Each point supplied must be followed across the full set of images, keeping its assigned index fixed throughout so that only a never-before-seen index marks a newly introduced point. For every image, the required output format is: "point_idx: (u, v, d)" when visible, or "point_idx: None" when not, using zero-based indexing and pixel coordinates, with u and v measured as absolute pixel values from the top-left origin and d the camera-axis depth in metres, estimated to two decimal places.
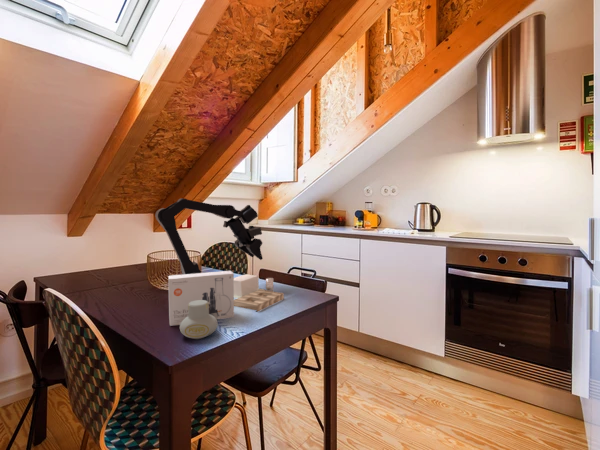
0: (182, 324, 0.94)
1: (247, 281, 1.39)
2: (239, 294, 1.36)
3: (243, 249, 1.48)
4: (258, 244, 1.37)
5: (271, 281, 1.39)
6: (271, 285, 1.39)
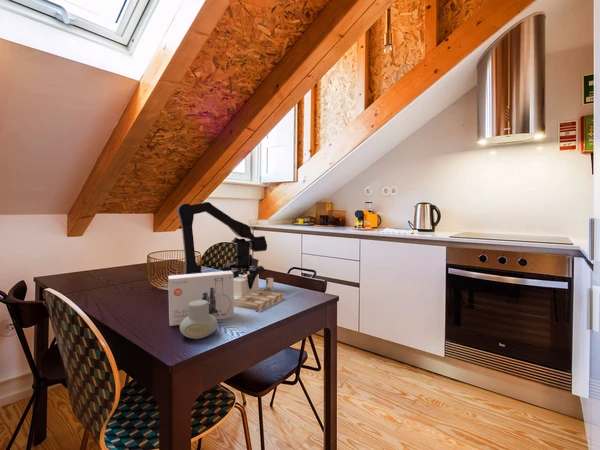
0: (182, 324, 0.94)
1: (247, 281, 1.39)
2: (239, 294, 1.36)
3: None
4: (262, 271, 1.38)
5: (271, 281, 1.39)
6: (271, 285, 1.39)
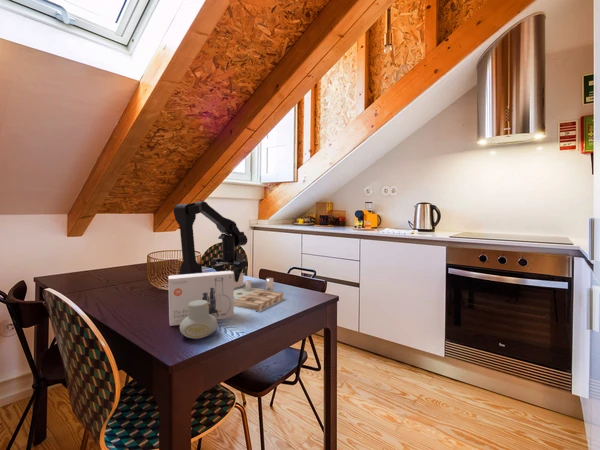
0: (182, 324, 0.94)
1: None
2: None
3: (218, 268, 1.52)
4: (245, 265, 1.47)
5: (271, 281, 1.39)
6: (271, 285, 1.39)
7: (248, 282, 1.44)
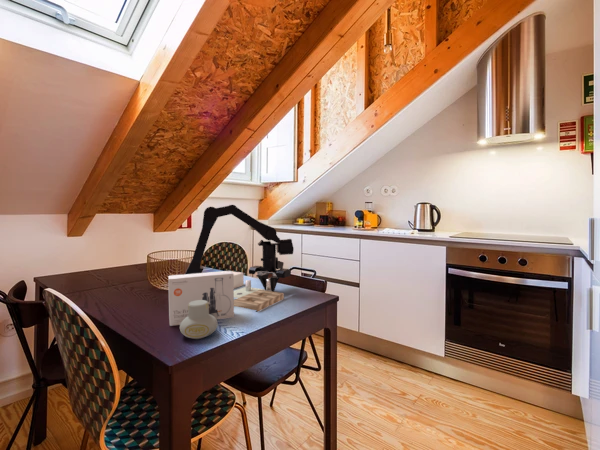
0: (182, 324, 0.94)
1: None
2: None
3: (262, 278, 1.39)
4: (289, 274, 1.36)
5: None
6: None
7: (248, 282, 1.44)
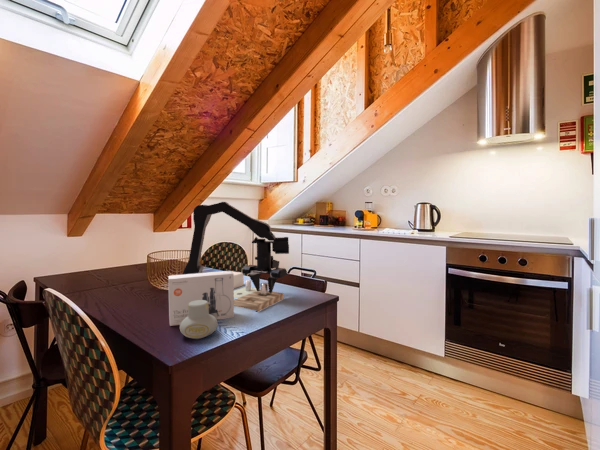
0: (182, 324, 0.94)
1: None
2: None
3: (254, 278, 1.31)
4: (284, 274, 1.27)
5: (266, 286, 1.30)
6: (266, 291, 1.31)
7: (248, 282, 1.44)
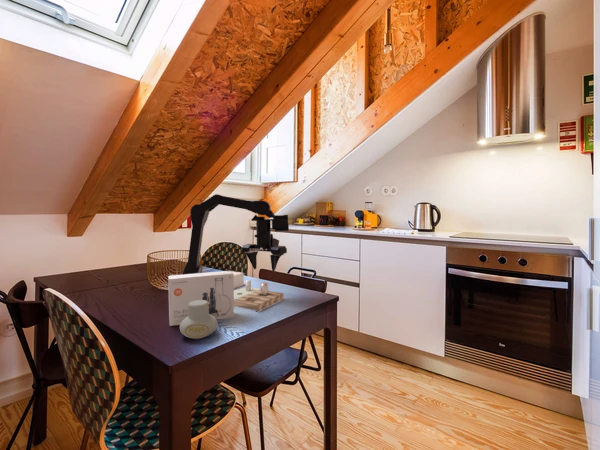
0: (182, 324, 0.94)
1: None
2: None
3: (251, 256, 1.32)
4: (284, 251, 1.27)
5: (266, 286, 1.30)
6: (266, 291, 1.31)
7: (248, 282, 1.44)
